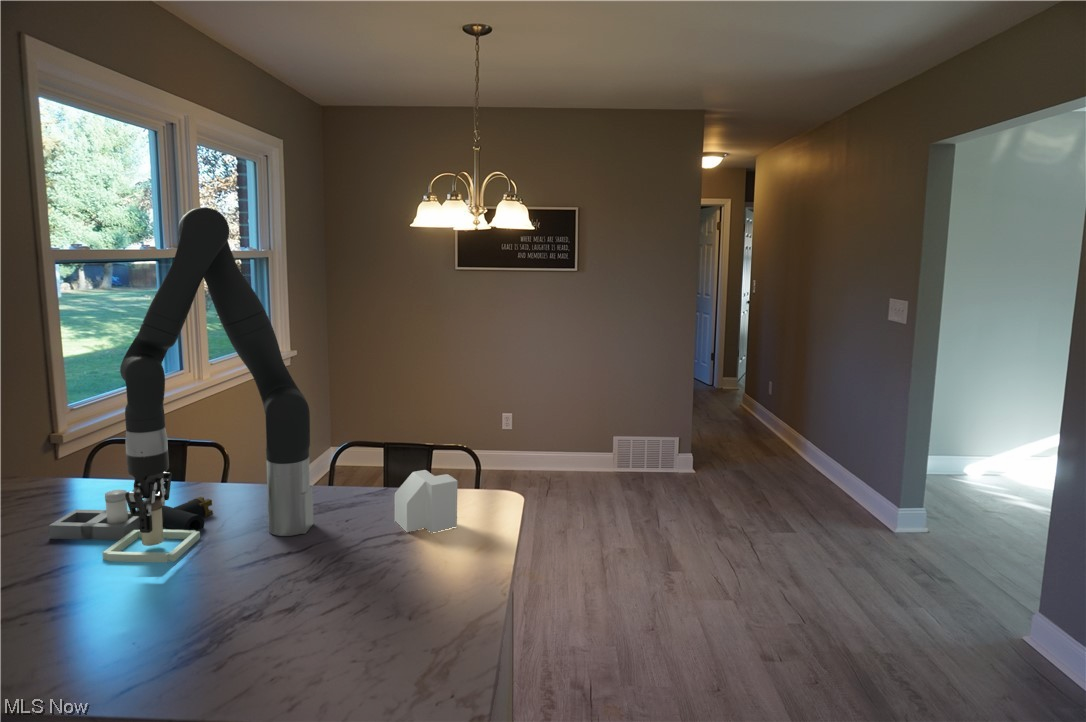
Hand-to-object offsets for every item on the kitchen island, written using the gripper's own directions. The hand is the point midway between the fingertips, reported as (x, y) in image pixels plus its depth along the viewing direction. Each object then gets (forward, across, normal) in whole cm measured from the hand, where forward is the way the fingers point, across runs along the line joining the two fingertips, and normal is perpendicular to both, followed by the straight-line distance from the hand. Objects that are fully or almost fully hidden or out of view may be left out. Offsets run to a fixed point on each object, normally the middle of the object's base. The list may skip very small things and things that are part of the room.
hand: (152, 527), depth 145 cm
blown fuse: (+3, 0, 0) cm, 3 cm away
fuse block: (+6, +8, +16) cm, 19 cm away
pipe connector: (+6, +15, +1) cm, 16 cm away
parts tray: (+6, 0, 0) cm, 6 cm away
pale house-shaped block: (+6, +18, -55) cm, 58 cm away
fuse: (+5, +8, +12) cm, 15 cm away
